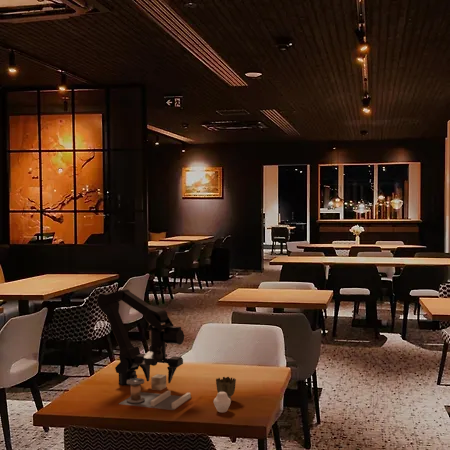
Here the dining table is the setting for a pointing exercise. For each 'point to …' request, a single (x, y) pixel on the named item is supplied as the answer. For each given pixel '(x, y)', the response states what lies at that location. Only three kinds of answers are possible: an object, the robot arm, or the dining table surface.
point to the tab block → (158, 382)
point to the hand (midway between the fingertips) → (158, 382)
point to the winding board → (161, 400)
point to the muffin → (222, 402)
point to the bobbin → (135, 391)
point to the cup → (226, 385)
